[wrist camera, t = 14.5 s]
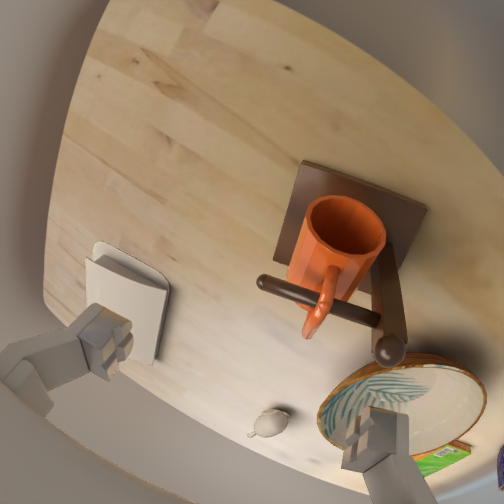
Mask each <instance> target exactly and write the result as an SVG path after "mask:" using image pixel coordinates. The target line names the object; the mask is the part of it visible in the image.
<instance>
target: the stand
mask: <svg viewBox="0 0 504 504" xmlns="http://www.w3.org/2000/svg"><path fill="white" fill-rule="evenodd" d="M328 195H338V196H346V197H349V198H352V199H354V200H357V201H359V202H361V203H363V204H364V205H366V206H367V207H369V208H370V209H372V210H373V211H374V213H375V214H376V215H377V216H378V217H379V218H380V220H381V221H382V223H383V226H384V228H385V231H386V244H385V246H384V248H383V250H382V251H381V253H380V254H379V256H378V258H377V259H376V261H375V262H374V264H373V266H372V267H371V269H370V270H369V272H368V273H367V275H366V276H365V278H364V279H363V281H362V283H361V284H360V286H359V287H358V289H357V290H359V291H362V292H365V293H368V294H371V301H372V311H371V310H368V309H365V308H362V307H359V306H356V305H353V304H350V303H348V302H345V301H342V300H339V299H336V298H334V300H333V304H332V308H331V309H330V311H329V314H332V315H335V316H338V317H341V318H344V319H347V320H350V321H353V322H356V323H359V324H362V325H365V326H368V327H371V328H372V351H371V352H372V353H373V356H374V359H375V361H376V362H377V363H378V364H379V365H380V366H382V367H386V368H391V367H395V366H397V365H398V364H400V363H401V362H402V361H403V359H404V357H405V355H406V344H407V342H408V338H407V330H406V322H405V314H404V307H403V300H402V294H401V288H400V282H399V276H398V269H399V268H400V266H401V264H402V262H403V260H404V258H405V256H406V254H407V252H408V250H409V248H410V246H411V243H412V241H413V239H414V237H415V235H416V233H417V231H418V229H419V226H420V224H421V222H422V220H423V218H424V215H425V213H426V211H427V209H426V207H425V206H424V205H423V204H421V203H418V202H416V201H413V200H411V199H409V198H406V197H404V196H401V195H399V194H396V193H394V192H391V191H389V190H386V189H384V188H381V187H378V186H376V185H373V184H370V183H368V182H365V181H362V180H360V179H357V178H354V177H351V176H348V175H346V174H343V173H340V172H337V171H334V170H331V169H328V168H325V167H322V166H319V165H316V164H313V163H310V162H307V161H304V160H303V161H302V162H301V163H300V167H299V170H298V174H297V177H296V181H295V185H294V188H293V192H292V195H291V199H290V202H289V205H288V209H287V212H286V216H285V219H284V223H283V226H282V230H281V233H280V236H279V240H278V243H277V247H276V250H275V253H274V257H273V261H276V262H279V263H282V264H285V265H288V266H289V265H290V262H291V259H292V256H293V253H294V249H295V246H296V243H297V240H298V237H299V234H300V231H301V228H302V224H303V221H304V218H305V215H306V212H307V209H308V206H309V205H310V204H311V203H312V202H314V201H315V200H316V199H317V198H320V197H324V196H328ZM256 283H257V286H258V288H259V289H261V290H263V291H266V292H269V293H272V294H275V295H277V296H280V297H283V298H286V299H289V300H292V301H294V302H297V303H300V304H303V305H306V306H309V307H312V308H315V307H316V305H317V303H318V300H319V297H320V293H318V292H316V291H313V290H310V289H307V288H304V287H301V286H298V285H296V284H293V283H290V282H287V281H284V280H281V279H278V278H276V277H273V276H270V275H267V274H262V275H260V276H259V277H258V278H257V282H256Z"/></svg>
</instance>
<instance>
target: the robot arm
mask: <svg viewBox="0 0 504 504" xmlns="http://www.w3.org/2000/svg"><path fill="white" fill-rule="evenodd" d="M132 328H133V327H132V321H131V320H129V319H127V318H125V317H123V316H121V315H119V314H117V313H115V312H113V311H111V310H109V309H107V308H106V307H104V306H102V305H100V304H98V303H96V302H95V303H93V304H91V305H90V306H89V307H88V308H87V309H86V310H85V311H84V312H83V313H82V314H81V315H80V316H79V317H78V318H77V319H76V320H75V321H74V322H73V323H72V324H71V325H70V326H69V327H68V328H67V329H66V330H64V329H59V330H55V331H52V332H49V333H45V334H42V335H38V336H35V337H32V338H28V339H25V340H22V341H18V342H15V343H11V344H9V345H8V346H7V347H6V348H5V349H4V350H3V351H2V352H1V353H0V504H199V503H197V502H194V501H191V500H189V499H186V498H184V497H181V496H179V495H177V494H174V493H172V492H170V491H167V490H165V489H163V488H161V487H158V486H157V485H154V484H152V483H150V482H148V481H146V480H144V479H142V478H140V477H138V476H136V475H134V474H132V473H130V472H128V471H126V470H125V469H123V468H121V467H119V466H117V465H116V464H114V463H112V462H110V461H109V460H107V459H105V458H103V457H102V456H100V455H99V454H97V453H95V452H94V451H92V450H90V449H89V448H87V447H86V446H84V445H83V444H81V443H80V442H78V441H76V440H75V439H74V438H72V437H71V436H69V435H68V434H66V433H64V432H63V431H62V430H61V429H59V428H57V427H56V426H55V425H54V424H52V423H51V422H50V421H48V420H47V419H46V418H45V417H46V415H47V414H48V412H49V411H50V410H51V409H52V407H53V406H54V402H53V400H52V398H51V397H50V395H49V393H48V391H50V390H52V389H54V388H57V387H59V386H61V385H63V384H65V383H68V382H70V381H72V380H74V379H76V378H79V377H81V376H83V375H85V374H87V373H89V371H90V372H92V373H94V374H96V375H98V376H99V377H101V378H103V379H105V380H107V381H110V379H111V378H112V377H113V376H114V374H115V373H116V372H117V370H118V369H119V363H118V362H121V361H124V360H126V358H127V357H128V356H129V354H130V352H131V350H132V348H133V343H134V337H133V335H132V333H131V332H130V330H131V329H132ZM345 441H346V443H347V445H348V448H347V449H346V450H345V451H344V453H343V459H342V466H341V469H346V470H350V471H355V472H360V473H363V477H364V480H365V483H366V486H367V488H368V491H369V494H370V497H371V500H372V502H373V504H438V503H437V501H436V499H435V498H434V496H433V494H432V492H431V490H430V488H429V486H428V485H427V483H426V481H425V479H424V477H423V475H422V474H421V472H420V470H419V468H418V466H417V464H416V463H415V461H414V459H413V457H410V456H409V417H408V415H407V414H404V413H399V412H394V411H391V410H387V409H382V408H377V407H373V406H366V407H365V408H364V409H363V410H362V413H361V415H360V416H357V417H355V418H354V419H353V421H352V422H351V424H350V426H349V428H348V431H347V434H346V440H345Z"/></svg>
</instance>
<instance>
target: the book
mask: <svg viewBox="0 0 504 504" xmlns="http://www.w3.org/2000/svg"><path fill="white" fill-rule="evenodd" d="M169 293H170V288H169V283H168V282H167V280H166V279H165V277H164V276H163V275H162V274H161V273H159V272H158V271H157V270H155V269H154V268H152V267H150V266H148V265H146V264H144V263H142V262H141V261H139V260H137V259H135V258H133V257H131V256H130V255H128V254H126V253H124V252H122V251H121V250H119V249H117V248H115V247H113V246H112V245H110V244H108V243H105V242H102V241H100V242H97V243H95V245H94V248H93V260H91V259H89V258H88V257H86V296H87V308H88V307H89V306H90V305H91V304H93V303H95V302H96V303H98V304H100V305H102V306H104V307H106V308H107V309H109V310H111V311H113V312H115V313H117V314H119V315H121V316H123V317H125V318H127V319H129V320H131V321H132V327H133V328H132V329H131V330H130V332H131V333H132V335H133V337H134V343H133V348H132V350H131V352H130V354H129V356H128V357H127V358H128V359H131V360H133V361H136V362H139V363H143V364H147V365H150V366H153V362H154V358H155V357H156V356H157V352H158V347H159V342H160V336H161V331H162V326H163V322H164V317H165V312H166V307H167V302H168V298H169Z"/></svg>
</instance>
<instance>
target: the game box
mask: <svg viewBox="0 0 504 504" xmlns="http://www.w3.org/2000/svg"><path fill="white" fill-rule="evenodd" d="M470 454H471V450H470V446H468V445H465V444H463V443H460V442H457V441H453V442H452V443H450V444H448V445H446V446H444V447H441V448H439V449H437V450H434V451H431V452H428V453H424V454H421V455H416V456H411V457H413V459H414V461H415V463H416V464H417V466H418V468H419V470H420V472H421V474H422V475H423V477H426V476H428V475H430V474H432V473H434V472H437V471H439V470H441V469H443V468H445V467H447V466H449V465H451V464H453V463H455V462H457V461H459V460H461V459H462V458H464V457H466V456H468V455H470Z"/></svg>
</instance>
